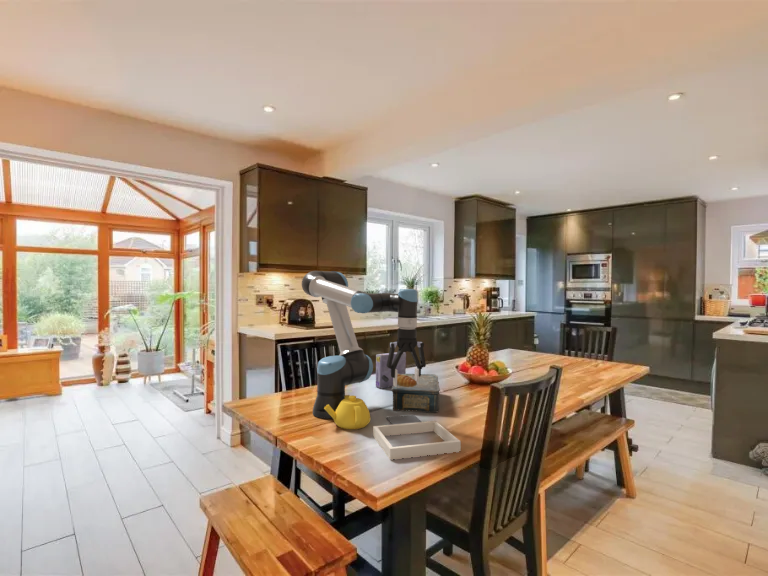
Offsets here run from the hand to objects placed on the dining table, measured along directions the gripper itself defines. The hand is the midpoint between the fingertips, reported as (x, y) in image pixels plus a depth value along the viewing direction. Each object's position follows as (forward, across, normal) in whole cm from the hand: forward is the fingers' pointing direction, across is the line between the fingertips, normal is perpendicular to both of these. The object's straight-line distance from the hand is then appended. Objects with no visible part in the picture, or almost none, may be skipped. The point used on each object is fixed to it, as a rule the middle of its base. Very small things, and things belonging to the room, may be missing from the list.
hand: (405, 385), depth 158 cm
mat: (+15, 0, +1) cm, 15 cm away
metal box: (+16, +14, +27) cm, 34 cm away
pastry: (0, 0, +2) cm, 2 cm away
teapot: (+16, -23, +3) cm, 28 cm away
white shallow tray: (+15, -3, -20) cm, 25 cm away
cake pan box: (+16, +12, +57) cm, 60 cm away
